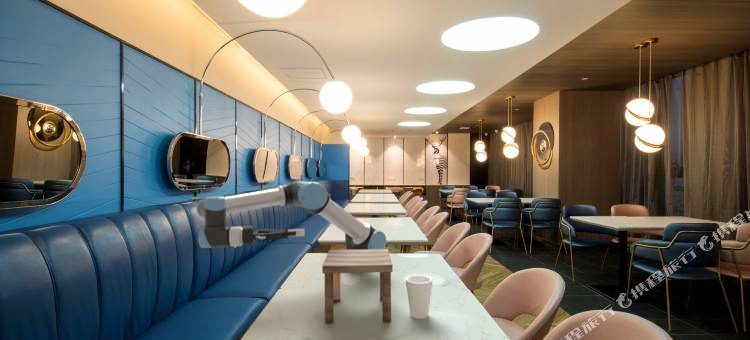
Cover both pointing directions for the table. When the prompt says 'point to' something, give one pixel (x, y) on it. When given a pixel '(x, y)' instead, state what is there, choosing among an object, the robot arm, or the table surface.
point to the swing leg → (336, 286)
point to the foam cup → (419, 295)
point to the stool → (358, 264)
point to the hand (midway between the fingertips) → (304, 232)
